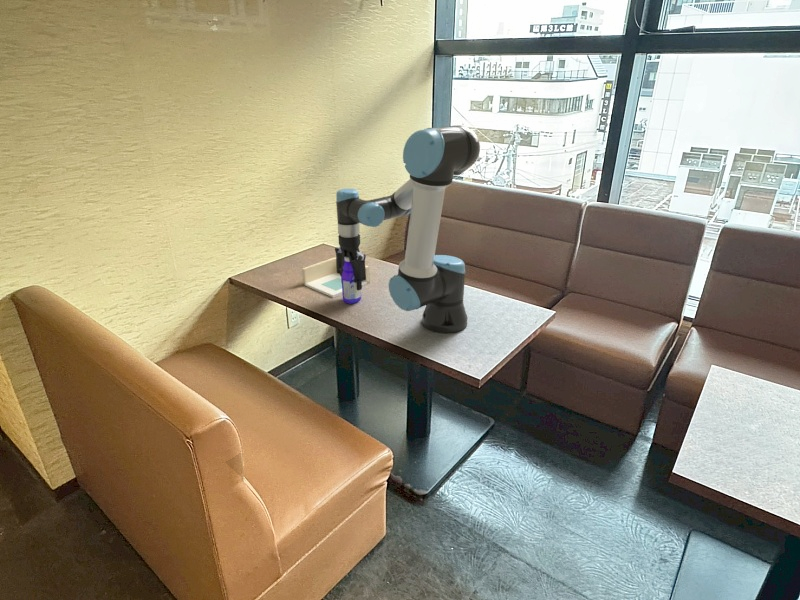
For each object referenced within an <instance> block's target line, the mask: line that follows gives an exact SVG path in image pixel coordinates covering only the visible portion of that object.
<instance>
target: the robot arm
mask: <svg viewBox="0 0 800 600" xmlns="http://www.w3.org/2000/svg"><path fill="white" fill-rule="evenodd" d="M480 148H481V145H480V140H479V138H478V136H477V134H476V133H475V131H473V130H472V129H471V128H469V127H467V126H464V125H452V126H442V127H441V126H440V127H427V128H424V129H420V130H416V131H414V132H413V133H412V134H410V136H409V137H408V139H407V140H406V142H405V143H404V147H403V152H402V159H403V160H402V161H403V163H404V164H405V165H404V169H405V170H406V171H407V173H408V174H409V179H408V180H407V181H406V182H405V183H404V184H402V185H401V186H400V187H399V188H398V189H397V190H395V191H394V192H393V193H391V194H390V195H388V196H382V197H379V198H373V199H367V200H365V199H361V198H360V194H359V191H358V190H357V189H355V188H342V189H338V190H337V191H336V193H335V194H336V196H335V197H336V201H335V203H336V216H337V234H338V238H337V239H338V246H336V247H335V248H334V251H335V257H336V268H337V273H338V274H340V276H341V277H342V273H343V271H344V270H343V266H344V257H345V256H346V257H349V261H350V264H352V268H353V273H354V277H355V281H354V298H355V299H357V298H359V297H361V298H362V296H361V295H362V288H363V286H362V281H364V280H366V271H365V265H366V256H367V255H366V254H365V253H363V254H362V252H361V251H360V244H361V235H360V233H361V229H360V228H361V227H360V226H361V225H360V224H362V226H366V227H371V228H376V227H379V226H380V225H381V224H382V223H383V221H388V220H392V219H397V218H400V217H401V218H402V217H405V216H408V215H410V217H409V223H408V231H407V240H406V247H405V248H406V249H405V256H404V259H403V260H401V261H400V262H399V264H398V269H397V271H398V272H397V274H394V275H392V277H391V278H390V279H389V280H388V291H389V295H390V296H391V300H392V301H393V302H394V303H395V305H396V306H397V307H398V308H399V309H401V310H403V311H404V312H405V311H406V312H411V311H414V310H418V309H420V308H422V307H425V308H424V310H423V313H422V316H421V317H422V318H421V321H422V322H421V323H422V325H423V327H425V328H426V329H427V330H429V331H431V332H435V333H443V334H453V333H457V332H461V331H462V330H464V329H466V327H467V326H468V315H467V311H466V307H465V304H464V293H465V281H466V279H465V278H466V263H465V262H464V261H463V260H462V259H461V258H459V257H456V256H453V255H445V254H436V251H437V250H436V249H437V243H438V237H439V230H440V224H441V218H442V212H443V206H444V200H445V195H446V194H445V193H446V189H447V188H449V186H451V185H452V184H453V177H454V176H461V175H462V174H463V173H464V172H465V171H468V169H469V168H471V167H472V166H473V165H474V164H475V163H476V161H477V160H478V158H479V155H480V150H481V149H480ZM353 260H355V261H353ZM341 283H342V278H341Z"/></svg>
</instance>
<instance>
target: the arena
mask: <svg viewBox="0 0 800 600" xmlns="http://www.w3.org/2000/svg"><path fill="white" fill-rule="evenodd" d="M365 271H366V280H364V281H362V287H363V286H365V285H368V284H370V266H368V265H366V264H365ZM301 272H302V274H301V275H302V283H303V286H305V287H307V288H310V289H312V290H314V291H316V292H319V293H322V294H323V295H326V296H328V297H330V298H332V299H333V298H336V297H339V296H341V295H342V296H343V294H342V283H341V276H340V274H338V273H337V268H336V256H334V257H331V258H329V259H326V260H323V261H319V262H317V263H314V264H310V265H308V266H306V267H303V268H301Z"/></svg>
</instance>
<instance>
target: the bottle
mask: <svg viewBox="0 0 800 600" xmlns="http://www.w3.org/2000/svg"><path fill="white" fill-rule="evenodd" d="M353 261H355V260H353ZM343 270H344V271H343V273H342V277H341V278H342V300H343V302H344V303H346V304H351V305H353V304H355V303H357V302H359V301H360V300H362V295H363V294H361V297H359V298H357V299H355V298H354V281H355V277H354V273H353V268H352V264H350V261H349V257H346V256H345V257H344V266H343Z"/></svg>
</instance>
